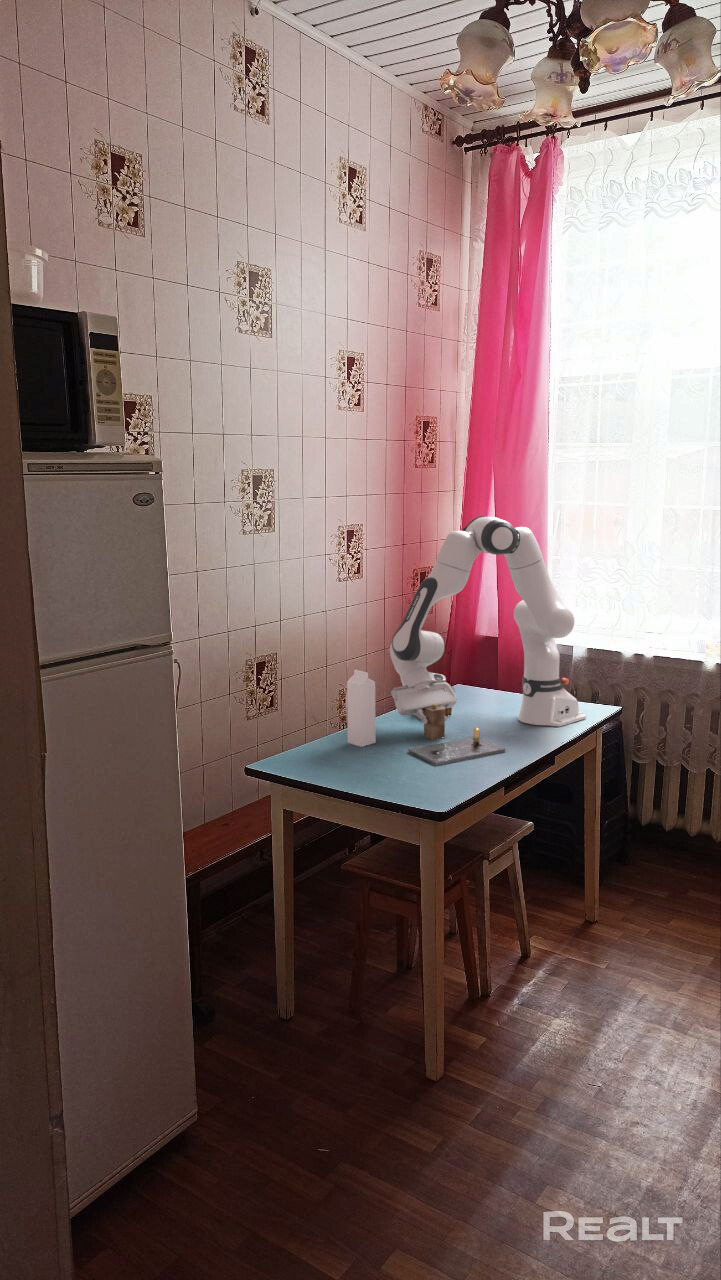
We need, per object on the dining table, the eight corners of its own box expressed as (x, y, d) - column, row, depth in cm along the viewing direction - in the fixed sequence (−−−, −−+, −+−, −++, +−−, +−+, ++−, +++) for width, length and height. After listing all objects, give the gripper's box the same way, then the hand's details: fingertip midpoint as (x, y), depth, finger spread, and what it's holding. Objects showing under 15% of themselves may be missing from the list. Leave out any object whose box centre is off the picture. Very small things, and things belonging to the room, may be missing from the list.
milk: (362, 739, 272) (361, 667, 268) (375, 743, 267) (375, 671, 263) (347, 743, 268) (346, 670, 264) (360, 747, 263) (360, 674, 259)
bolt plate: (475, 739, 269) (476, 720, 268) (505, 752, 257) (505, 732, 256) (408, 752, 258) (408, 732, 257) (435, 766, 246) (435, 745, 245)
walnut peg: (436, 734, 276) (436, 701, 274) (444, 737, 272) (444, 705, 270) (423, 736, 274) (424, 703, 272) (432, 739, 270) (432, 707, 268)
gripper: (393, 682, 271) (410, 721, 264) (448, 674, 280) (466, 711, 274) (385, 693, 275) (402, 732, 269) (440, 685, 285) (458, 722, 279)
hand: (435, 721), depth 271 cm, fingers closed on walnut peg, 4 cm apart
